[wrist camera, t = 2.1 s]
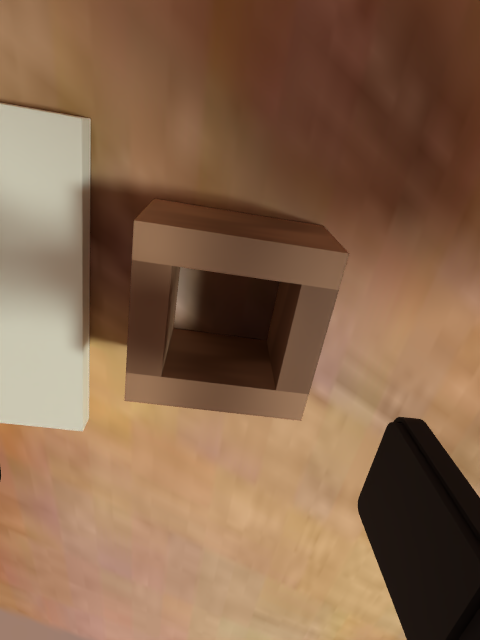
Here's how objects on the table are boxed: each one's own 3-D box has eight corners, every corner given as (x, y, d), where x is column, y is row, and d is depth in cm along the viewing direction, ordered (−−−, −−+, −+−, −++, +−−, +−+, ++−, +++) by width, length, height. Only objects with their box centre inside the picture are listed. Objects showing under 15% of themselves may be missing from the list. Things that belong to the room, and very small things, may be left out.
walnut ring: (323, 225, 17) (349, 253, 13) (287, 366, 20) (301, 420, 16) (153, 198, 16) (133, 220, 13) (143, 348, 19) (124, 401, 16)
